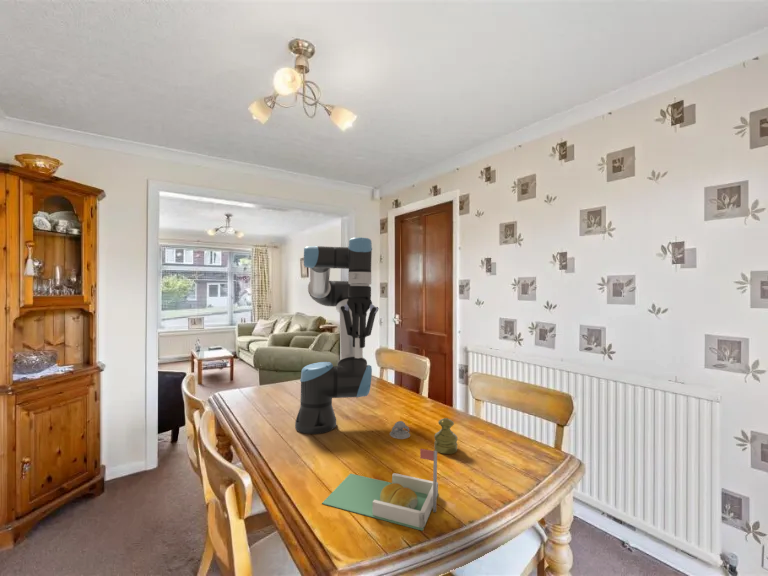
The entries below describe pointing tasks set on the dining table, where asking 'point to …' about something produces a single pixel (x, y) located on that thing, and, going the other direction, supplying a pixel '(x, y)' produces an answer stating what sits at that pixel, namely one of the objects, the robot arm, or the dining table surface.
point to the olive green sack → (445, 438)
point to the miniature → (400, 430)
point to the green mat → (364, 497)
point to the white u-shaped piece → (416, 485)
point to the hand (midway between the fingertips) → (358, 357)
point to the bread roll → (399, 496)
